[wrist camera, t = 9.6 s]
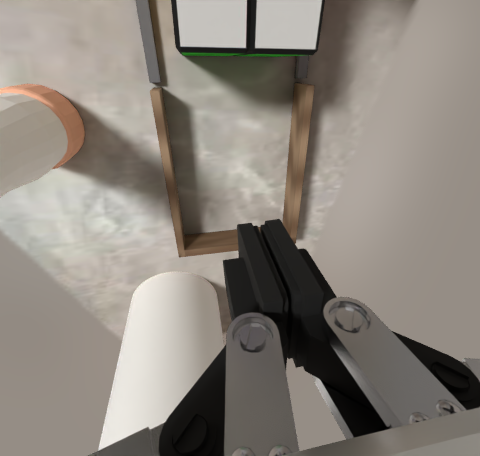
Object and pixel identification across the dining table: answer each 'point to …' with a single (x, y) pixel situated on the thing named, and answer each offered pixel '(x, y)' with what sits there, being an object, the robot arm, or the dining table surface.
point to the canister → (162, 351)
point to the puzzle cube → (247, 27)
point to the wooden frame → (294, 180)
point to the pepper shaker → (35, 133)
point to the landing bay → (151, 53)
